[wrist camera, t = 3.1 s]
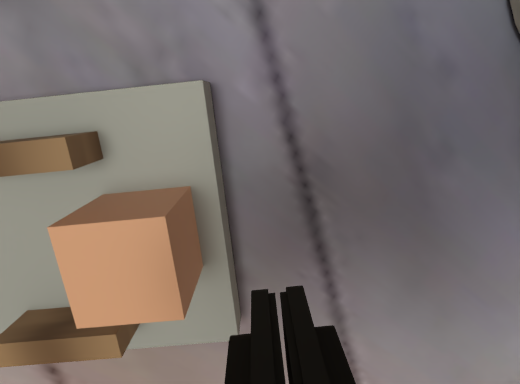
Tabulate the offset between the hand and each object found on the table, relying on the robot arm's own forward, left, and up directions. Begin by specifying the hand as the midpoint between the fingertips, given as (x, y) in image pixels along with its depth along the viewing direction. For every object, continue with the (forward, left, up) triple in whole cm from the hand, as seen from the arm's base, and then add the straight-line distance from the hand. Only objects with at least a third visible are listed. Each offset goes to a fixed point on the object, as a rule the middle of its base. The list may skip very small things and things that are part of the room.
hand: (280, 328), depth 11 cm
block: (+7, 0, -9) cm, 11 cm away
